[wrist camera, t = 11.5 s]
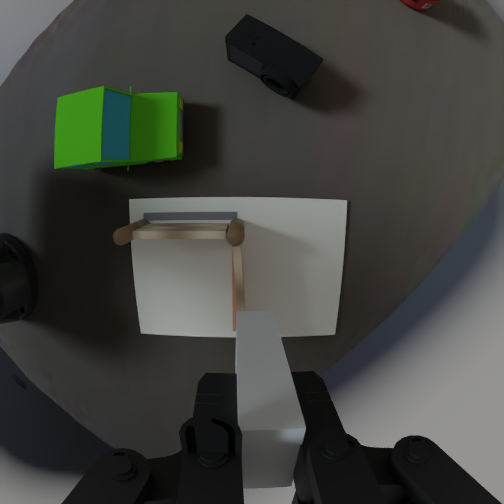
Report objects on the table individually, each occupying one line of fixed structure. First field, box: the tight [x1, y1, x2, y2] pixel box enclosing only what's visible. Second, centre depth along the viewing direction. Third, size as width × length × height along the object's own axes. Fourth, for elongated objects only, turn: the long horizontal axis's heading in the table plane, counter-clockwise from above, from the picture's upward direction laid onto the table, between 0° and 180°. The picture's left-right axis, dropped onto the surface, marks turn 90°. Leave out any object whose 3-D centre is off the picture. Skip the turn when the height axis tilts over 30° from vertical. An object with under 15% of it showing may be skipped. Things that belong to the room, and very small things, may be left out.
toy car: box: [54, 86, 184, 172], centre depth 30 cm, size 10×13×10 cm
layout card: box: [129, 197, 347, 337], centre depth 39 cm, size 28×19×1 cm
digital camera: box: [225, 14, 323, 100], centre depth 30 cm, size 10×5×7 cm, turn 55°
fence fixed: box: [113, 218, 245, 246], centre depth 33 cm, size 14×2×8 cm, turn 89°
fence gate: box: [233, 244, 246, 311], centre depth 35 cm, size 13×2×7 cm, turn 3°
